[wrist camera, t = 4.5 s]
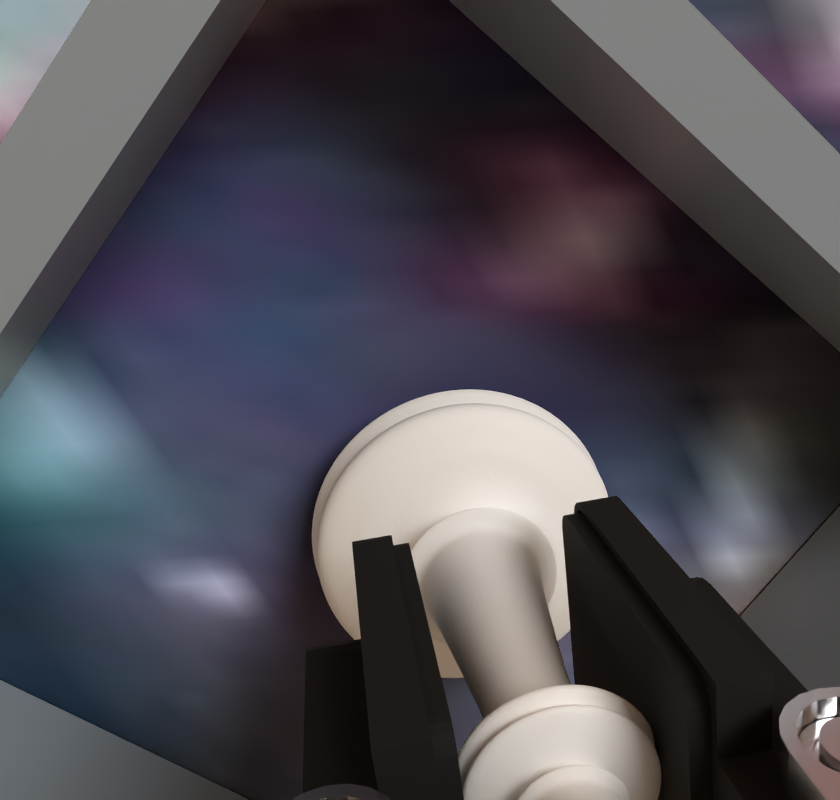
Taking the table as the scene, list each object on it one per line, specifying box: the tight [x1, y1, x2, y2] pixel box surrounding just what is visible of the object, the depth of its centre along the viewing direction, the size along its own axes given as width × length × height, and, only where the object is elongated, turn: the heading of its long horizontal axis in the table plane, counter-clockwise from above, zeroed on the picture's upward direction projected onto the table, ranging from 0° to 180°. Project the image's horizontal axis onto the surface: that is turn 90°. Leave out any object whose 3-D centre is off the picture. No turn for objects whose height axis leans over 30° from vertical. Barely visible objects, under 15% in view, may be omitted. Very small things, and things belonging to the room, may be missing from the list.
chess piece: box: [312, 389, 662, 800], centre depth 9 cm, size 5×5×10 cm
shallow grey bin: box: [0, 0, 840, 800], centre depth 12 cm, size 15×15×3 cm
